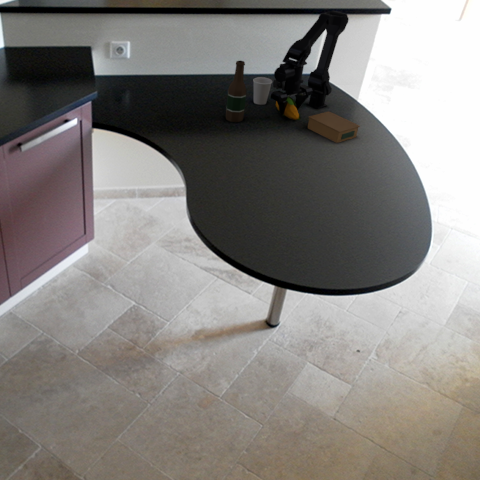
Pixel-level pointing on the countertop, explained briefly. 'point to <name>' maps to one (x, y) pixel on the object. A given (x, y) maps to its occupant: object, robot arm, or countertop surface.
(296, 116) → the corn
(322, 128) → the takeaway box
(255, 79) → the dixie cup
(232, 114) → the beer bottle
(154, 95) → the countertop surface
